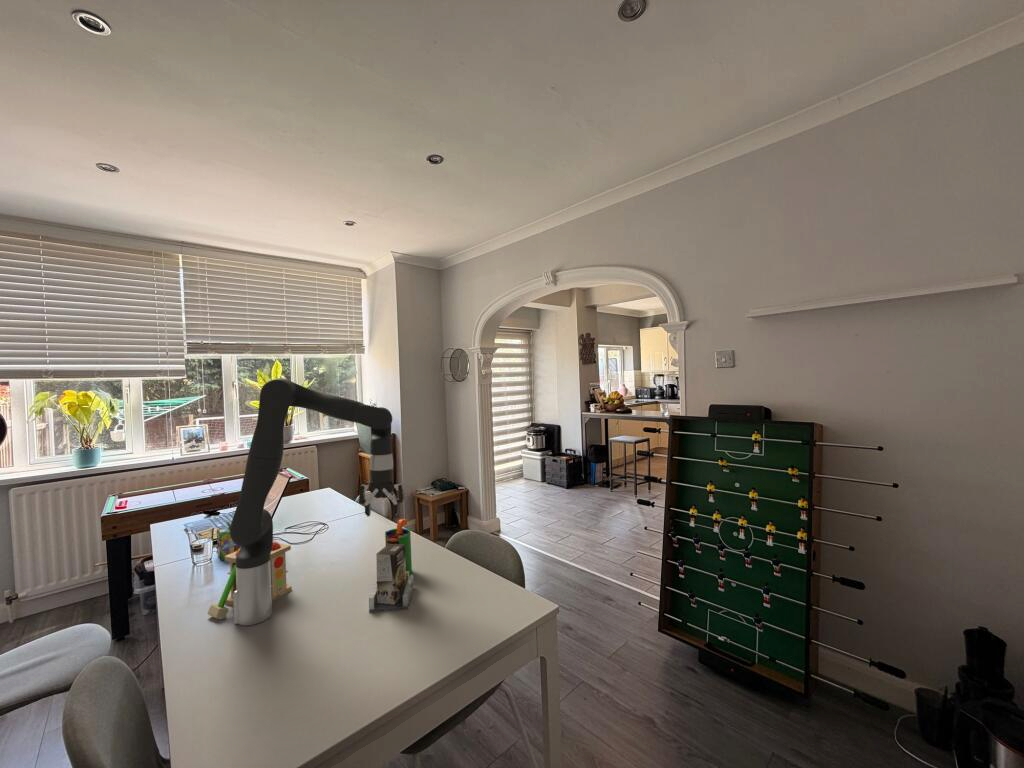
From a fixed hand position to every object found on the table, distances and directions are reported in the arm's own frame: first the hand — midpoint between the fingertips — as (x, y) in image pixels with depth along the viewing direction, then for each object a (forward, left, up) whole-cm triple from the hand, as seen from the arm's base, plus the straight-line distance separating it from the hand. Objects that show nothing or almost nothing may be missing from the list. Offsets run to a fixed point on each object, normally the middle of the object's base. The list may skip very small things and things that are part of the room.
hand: (381, 515), depth 141 cm
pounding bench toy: (-45, +3, -28) cm, 53 cm away
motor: (+2, +17, -28) cm, 33 cm away
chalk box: (-73, +46, -28) cm, 91 cm away
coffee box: (+3, -2, -27) cm, 27 cm away
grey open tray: (+3, -2, -28) cm, 28 cm away
